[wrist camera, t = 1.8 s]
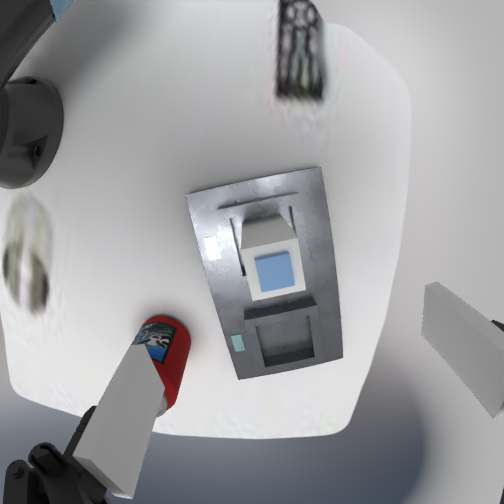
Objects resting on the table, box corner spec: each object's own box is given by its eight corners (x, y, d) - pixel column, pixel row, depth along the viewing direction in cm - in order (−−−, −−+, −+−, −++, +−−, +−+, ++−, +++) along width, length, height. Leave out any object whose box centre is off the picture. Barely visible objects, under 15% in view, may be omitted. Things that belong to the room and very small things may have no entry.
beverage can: (166, 303, 34) (134, 364, 22) (202, 341, 35) (188, 409, 24) (132, 330, 35) (96, 389, 23) (167, 364, 37) (145, 428, 25)
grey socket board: (188, 193, 30) (181, 197, 27) (317, 167, 30) (325, 167, 26) (238, 372, 37) (238, 389, 34) (340, 351, 36) (347, 367, 33)
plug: (242, 222, 30) (240, 252, 20) (280, 214, 30) (299, 240, 19) (250, 258, 31) (252, 304, 21) (287, 251, 31) (307, 293, 21)
